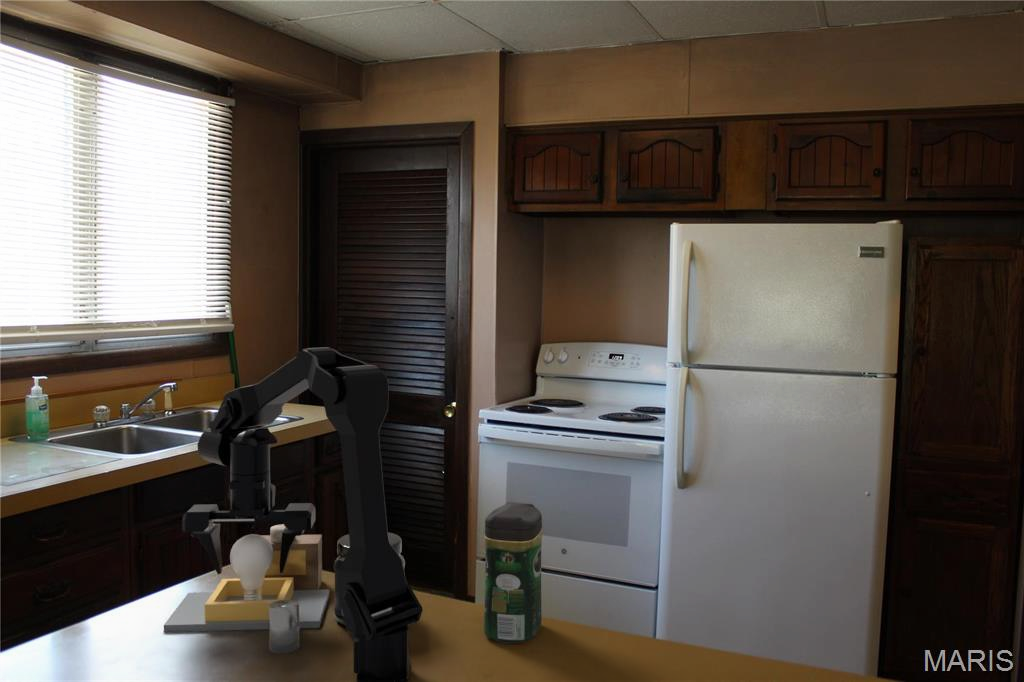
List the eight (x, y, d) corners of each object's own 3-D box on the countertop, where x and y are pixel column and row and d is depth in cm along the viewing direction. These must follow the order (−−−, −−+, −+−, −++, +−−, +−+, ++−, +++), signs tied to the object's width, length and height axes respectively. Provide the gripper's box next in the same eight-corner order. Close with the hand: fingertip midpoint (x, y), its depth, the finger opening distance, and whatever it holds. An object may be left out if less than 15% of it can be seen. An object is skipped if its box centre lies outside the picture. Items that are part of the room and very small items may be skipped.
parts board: (329, 595, 138) (329, 574, 138) (319, 627, 125) (319, 604, 125) (188, 598, 136) (188, 577, 136) (163, 631, 123) (163, 608, 123)
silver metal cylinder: (301, 641, 120) (300, 599, 120) (296, 653, 117) (296, 610, 116) (272, 641, 120) (271, 600, 120) (266, 654, 116) (266, 610, 116)
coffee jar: (494, 616, 130) (496, 496, 129) (545, 622, 128) (547, 500, 127) (476, 642, 121) (477, 512, 120) (531, 649, 119) (533, 517, 118)
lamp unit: (321, 581, 145) (321, 522, 144) (317, 592, 139) (317, 532, 139) (249, 582, 144) (248, 523, 143) (242, 594, 138) (241, 533, 138)
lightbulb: (262, 615, 127) (260, 541, 126) (222, 612, 128) (221, 539, 127) (281, 600, 133) (280, 530, 132) (244, 598, 134) (243, 528, 134)
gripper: (319, 460, 138) (319, 555, 139) (200, 461, 136) (201, 557, 137) (310, 475, 127) (310, 578, 128) (180, 476, 125) (181, 581, 126)
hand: (251, 572), depth 130 cm, fingers open, 9 cm apart
